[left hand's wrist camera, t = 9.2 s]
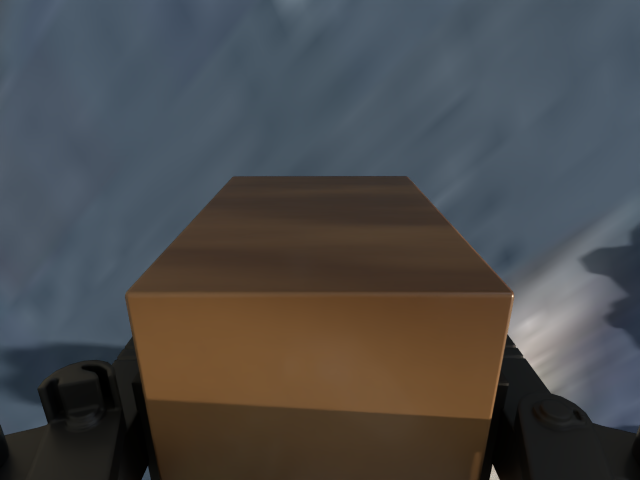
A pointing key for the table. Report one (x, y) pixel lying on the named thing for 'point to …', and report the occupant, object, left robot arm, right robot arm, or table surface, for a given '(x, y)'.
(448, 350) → the bar
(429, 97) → the table surface
